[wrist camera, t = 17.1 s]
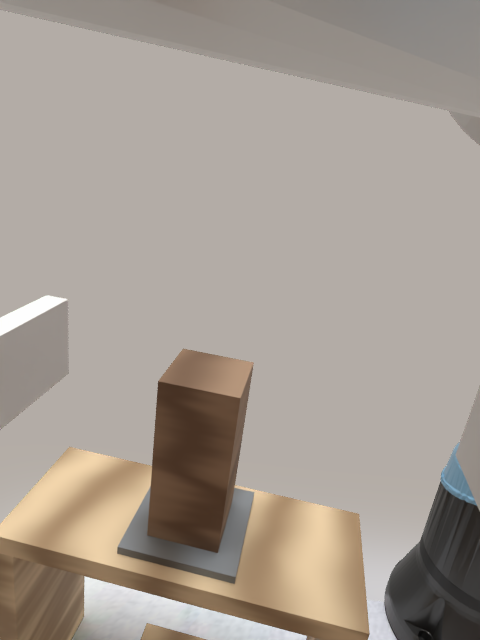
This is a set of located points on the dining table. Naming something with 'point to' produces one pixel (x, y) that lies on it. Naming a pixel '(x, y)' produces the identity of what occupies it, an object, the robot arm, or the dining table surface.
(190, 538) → the walnut block
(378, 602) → the dining table surface
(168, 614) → the dining table surface
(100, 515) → the wooden side table
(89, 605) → the dining table surface
